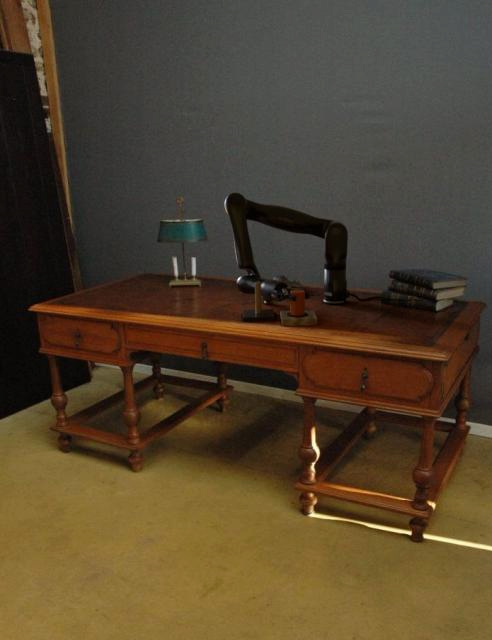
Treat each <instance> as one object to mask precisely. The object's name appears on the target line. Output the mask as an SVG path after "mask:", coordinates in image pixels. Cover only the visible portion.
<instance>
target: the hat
mask: <svg viewBox="0 0 492 640" xmlns="http://www.w3.org/2000/svg"><path fill="white" fill-rule="evenodd" d="M304 290H305V289H304ZM304 290H292V291H291V293H290V294H293V295H296V301H291V300H289V301H290V303H289V304H290V305H289V306H290V307H289V308H290V309H289V311H290V312H289V313H287V316H290V317H305V316H308V313H307V312H305V310H306V299H305V291H304ZM294 315H295V316H294Z"/></svg>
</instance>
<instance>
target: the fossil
mask: <svg viewBox="0 0 492 640" xmlns="http://www.w3.org/2000/svg"><path fill="white" fill-rule="evenodd" d="M272 280H276V281H280V282H284V283H286V284H287V286H288V287H291V288H294V289H297V287H299V288H302V289H303V284H301V282H299V281H297V280H294V279H293V280H289V277H286V276H285V275H284V274H282V275H275V276H273V279H272Z"/></svg>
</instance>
